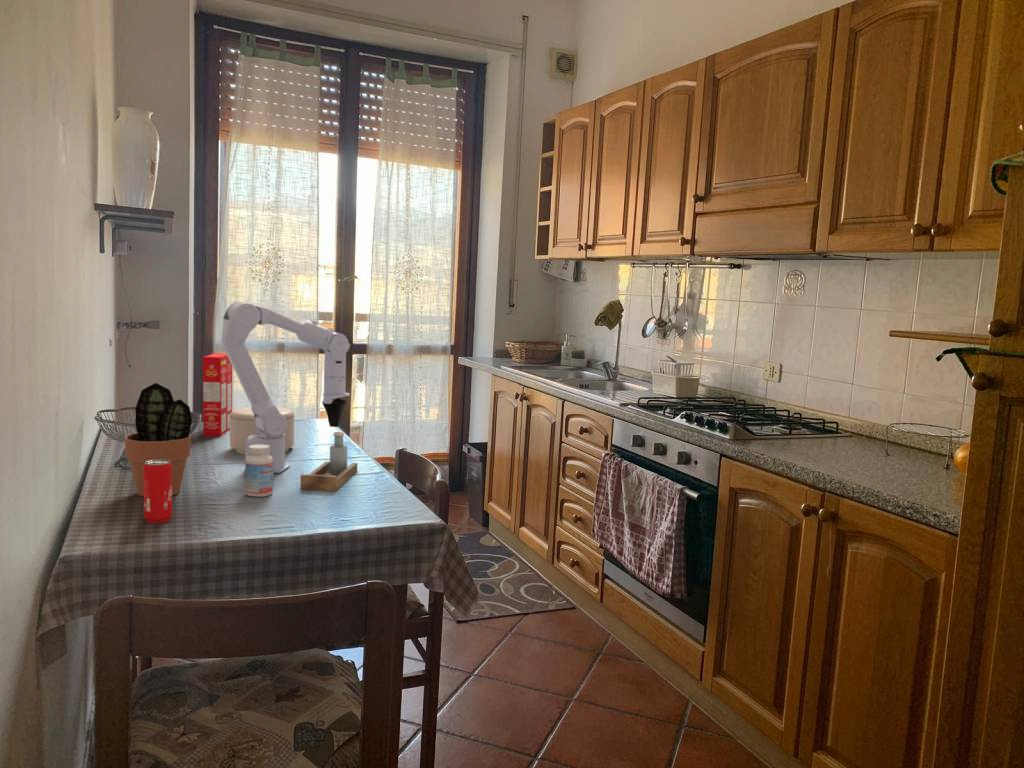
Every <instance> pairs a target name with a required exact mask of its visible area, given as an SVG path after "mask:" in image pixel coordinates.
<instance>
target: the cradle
mask: <svg viewBox="0 0 1024 768" xmlns="http://www.w3.org/2000/svg"><path fill="white" fill-rule="evenodd" d="M329 472H330V461H325V462H323V463H322V464H320V465H319V466H318V467H316V468H315V469H314V470H313V471H311V472H310V473H301V474H300V485H299V486H300V489H299V490H301V491H305V490H306V491H322V492H337V490H339V489H340V488H341V487H342V486H343V485H344V484H345V483H346V482H347V481H348V480H349V479H350V478H351V477H353V476H354V475H355V474H356V473H357V472H358V462H352V463H351V464H350V465H347V468H346V469H345V470H344V471H343V472H342V473H340V474H330V473H329Z"/></svg>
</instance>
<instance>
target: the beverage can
mask: <svg viewBox="0 0 1024 768" xmlns="http://www.w3.org/2000/svg"><path fill="white" fill-rule="evenodd" d="M143 480H144V497H143V517H144V519H145V520H146V523H148V524H163V522H164V523H168V522H170V521H171V518H172V516H173V495H172V465H171V463H170V460H165V459H156V460H149V461H146V462H145V465H144V466H143Z"/></svg>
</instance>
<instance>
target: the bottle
mask: <svg viewBox="0 0 1024 768" xmlns="http://www.w3.org/2000/svg"><path fill="white" fill-rule="evenodd" d="M344 436H345V432H343V431H341V432H340V431H335V432H334V433H333V437H334V444H333V445H330V446H329V462H330V470H329V474H340V473H342V472H343V471H344V470H345V469H346V468H347V467H348V446H347V445H344Z"/></svg>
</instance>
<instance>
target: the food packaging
mask: <svg viewBox="0 0 1024 768" xmlns="http://www.w3.org/2000/svg"><path fill="white" fill-rule="evenodd" d="M202 401H203V402H202V406H203V408H202V421H203V422H202V424H203V425H202V430H203V431H202V433H203V435H202V436H203V437H217V436H221V437H223V436H224V435H226V432H227V431H228V432H230V413H231V412H232V411H233V366H232V364H231V362H230V360H229V358H228V356H227V354H226V352H224V353H222V352H220V353H218V352H215V353H212V354H209V355H205V356H203V357H202ZM228 432H227V433H228ZM223 434H224V435H223Z"/></svg>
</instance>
